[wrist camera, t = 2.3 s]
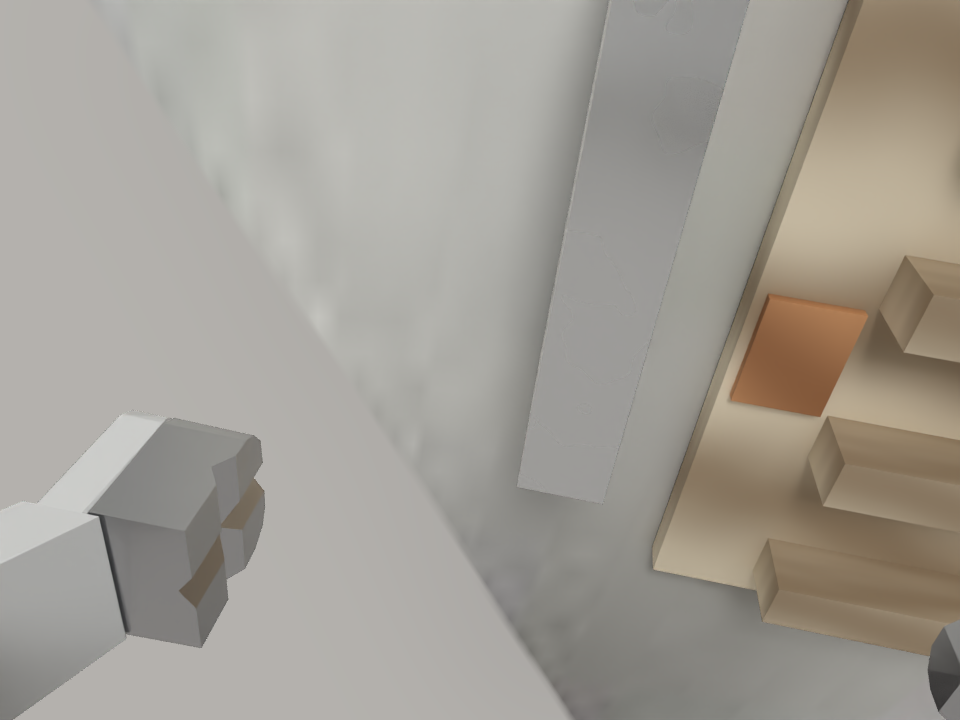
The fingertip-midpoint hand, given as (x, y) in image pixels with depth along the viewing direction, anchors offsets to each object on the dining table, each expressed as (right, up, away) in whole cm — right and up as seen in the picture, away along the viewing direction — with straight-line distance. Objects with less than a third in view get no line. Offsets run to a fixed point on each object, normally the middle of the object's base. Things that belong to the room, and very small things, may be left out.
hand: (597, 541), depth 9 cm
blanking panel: (+2, +7, +10) cm, 13 cm away
